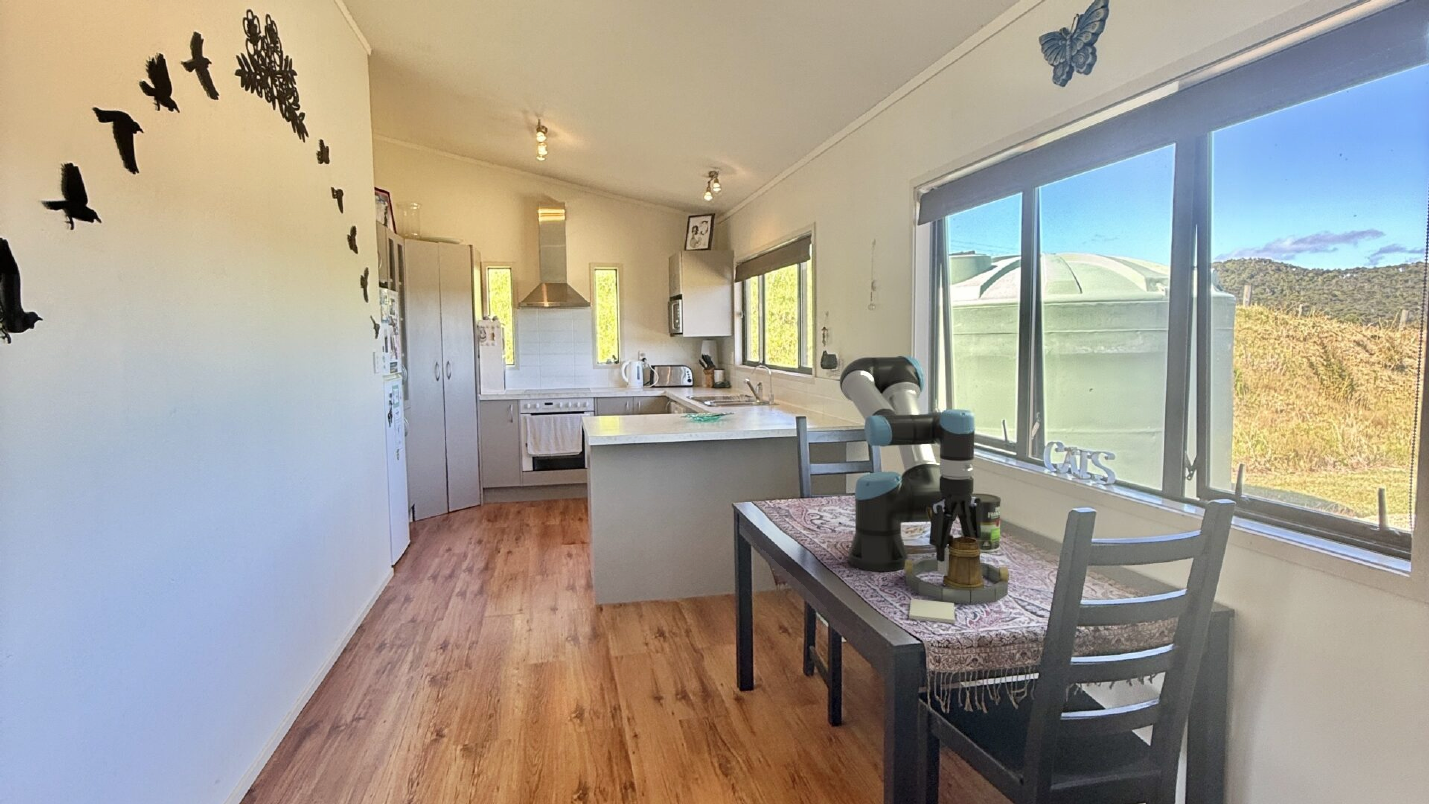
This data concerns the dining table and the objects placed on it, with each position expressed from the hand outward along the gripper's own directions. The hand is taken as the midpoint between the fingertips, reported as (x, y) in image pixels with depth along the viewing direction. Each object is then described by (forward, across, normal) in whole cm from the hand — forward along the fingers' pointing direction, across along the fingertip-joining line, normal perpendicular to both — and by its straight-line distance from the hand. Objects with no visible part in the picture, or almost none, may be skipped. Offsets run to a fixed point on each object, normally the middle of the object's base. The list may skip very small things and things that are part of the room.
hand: (955, 570), depth 161 cm
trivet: (+3, -16, -9) cm, 19 cm away
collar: (+3, 0, 0) cm, 3 cm away
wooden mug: (+3, -1, -1) cm, 3 cm away
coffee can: (+4, +28, +17) cm, 33 cm away
